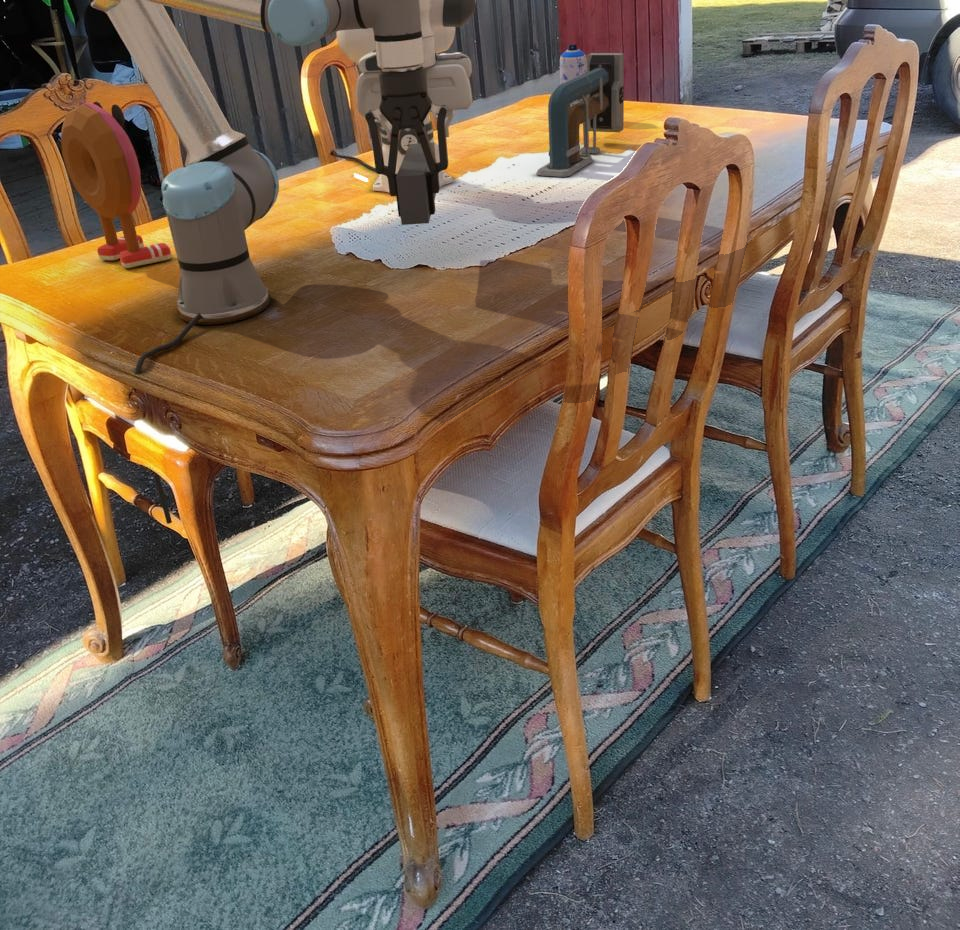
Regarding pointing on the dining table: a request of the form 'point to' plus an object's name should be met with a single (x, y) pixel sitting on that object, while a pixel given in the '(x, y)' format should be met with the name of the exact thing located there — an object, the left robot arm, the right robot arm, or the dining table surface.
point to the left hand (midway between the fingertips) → (417, 212)
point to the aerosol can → (572, 66)
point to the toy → (108, 179)
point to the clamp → (584, 113)
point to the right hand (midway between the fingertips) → (418, 138)
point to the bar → (414, 186)
